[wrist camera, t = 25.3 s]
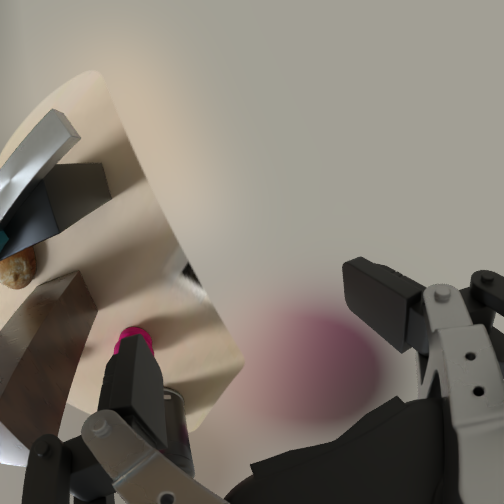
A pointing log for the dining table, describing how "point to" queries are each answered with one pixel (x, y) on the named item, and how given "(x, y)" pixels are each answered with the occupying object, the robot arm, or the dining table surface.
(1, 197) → the handle bar
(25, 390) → the plinth
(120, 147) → the dining table surface
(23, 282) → the bread roll
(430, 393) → the robot arm
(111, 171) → the dining table surface
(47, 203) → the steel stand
